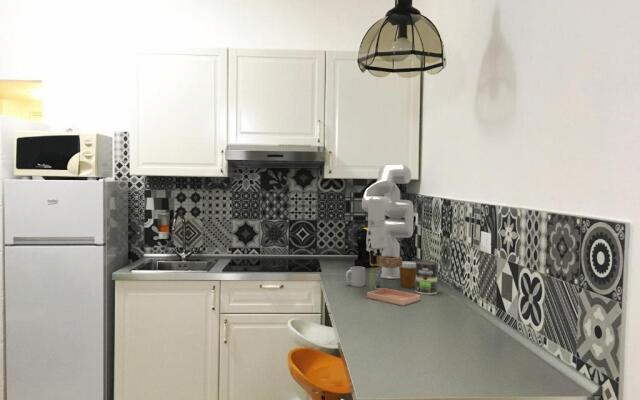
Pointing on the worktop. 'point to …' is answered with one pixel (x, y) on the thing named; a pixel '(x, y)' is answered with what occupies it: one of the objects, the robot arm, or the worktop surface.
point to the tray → (393, 296)
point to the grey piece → (378, 280)
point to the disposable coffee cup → (407, 274)
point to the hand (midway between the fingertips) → (375, 263)
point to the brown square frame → (388, 261)
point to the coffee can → (426, 277)
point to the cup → (356, 276)
